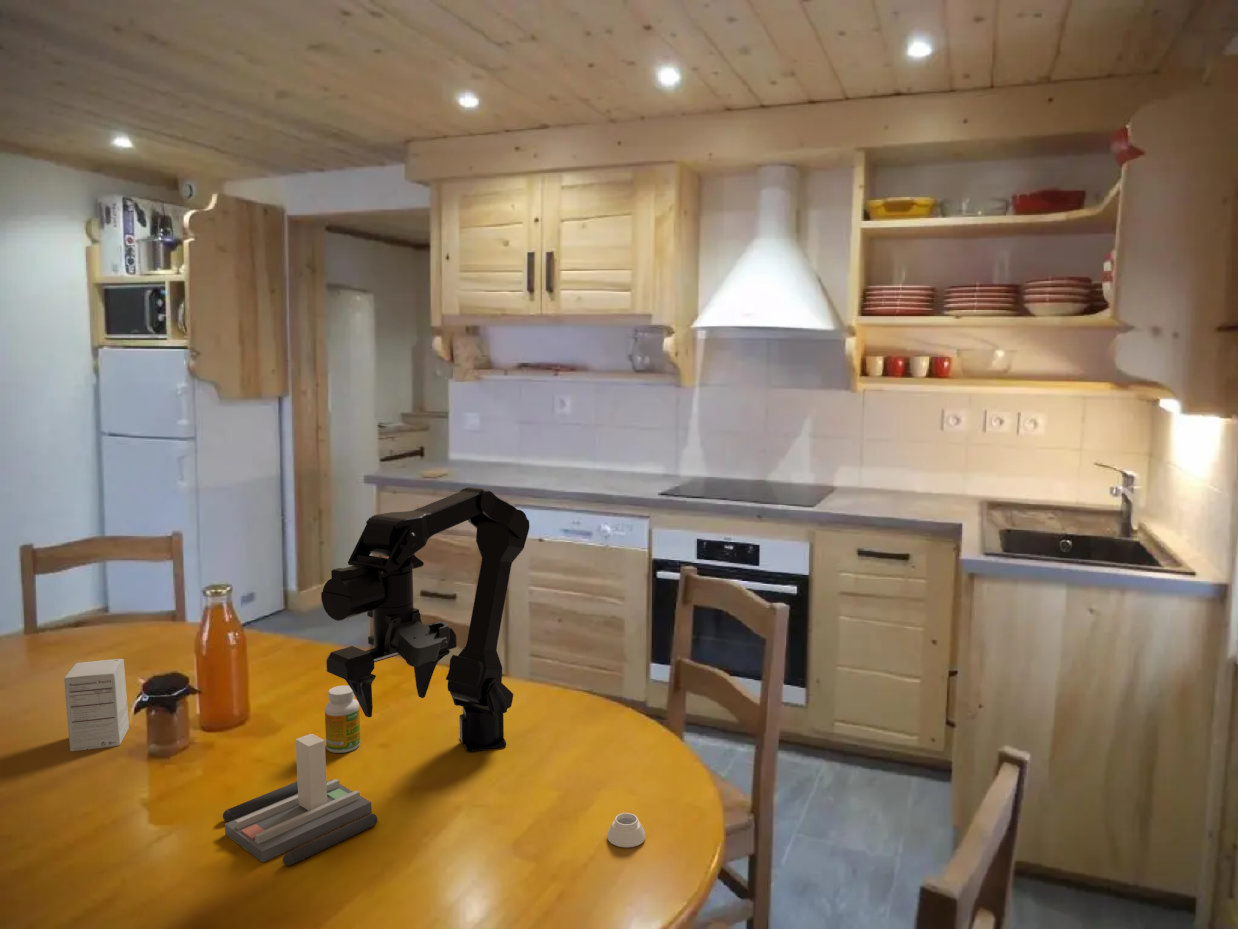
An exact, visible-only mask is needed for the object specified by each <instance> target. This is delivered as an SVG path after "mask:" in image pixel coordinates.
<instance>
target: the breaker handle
mask: <svg viewBox="0 0 1238 929" xmlns="http://www.w3.org/2000/svg"><path fill="white" fill-rule="evenodd" d="M295 756H296V757H295V759H296V777H297V781H296V782H297V783H298V793H297V794H298V804H299V805H300V806H302V807H304V808H305V809H307V810H308V811H310V810H312V809H315V808H317V807H319V806H321V805H324V804H326V803H327V783H326V782H327V763H326V761H327V760H326V739H324V738H323V739H322V738H321V737H319V736H317V735H316V734H313V733H309V734H306V735H303V736H300V737H298V738H295Z"/></svg>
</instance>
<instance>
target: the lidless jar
mask: <svg viewBox="0 0 1238 929" xmlns="http://www.w3.org/2000/svg"><path fill="white" fill-rule="evenodd" d="M606 836H607V840H608V841H609V842H610V844H611V845H614V846H616V847H620V848H634V847H637V846H640V845H641V844H642V843H644V842H645V839H646V832H645V829H644V827H643V825H642V823H641V822H640V821H639V818H638V816H637V815H635V814H633V813H630V812H622V813H619V814H617V815H616V816H615V817H614V820H613V822H612V824H611V825H610V827H609V829H608V831H607V834H606Z"/></svg>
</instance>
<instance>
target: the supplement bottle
mask: <svg viewBox="0 0 1238 929" xmlns="http://www.w3.org/2000/svg"><path fill="white" fill-rule="evenodd" d="M360 716H361V715H360V704H359V702H358V700H357V699H356V698H355V695H354V693H353V691H352V689H351V688H350V686H349V685H337V686H334V687H332V688H331V687H330V689H329V690H328V702H327V703H326V705H325V707H324V721H325V722H324V726H325V727H324V728H325V729H324V730H325V749H326V750H328V752H331V753H335V754H342V753H343V754H345V753H348V752H349V753H350V752H352V751H355V750H356V749H357V748H359V747H360V744H361V719H360Z"/></svg>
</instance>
